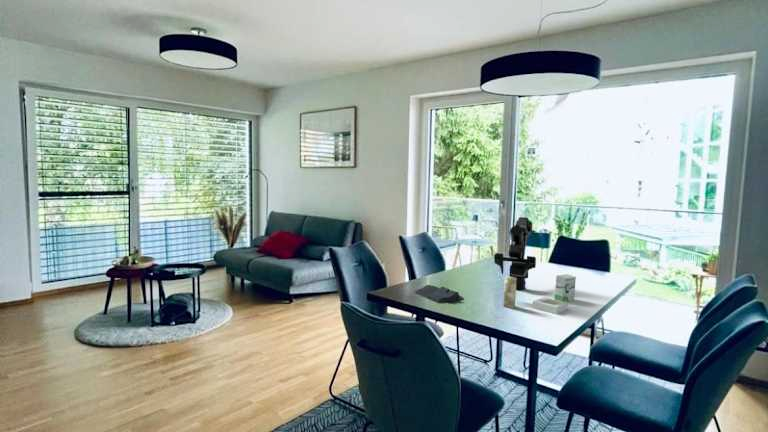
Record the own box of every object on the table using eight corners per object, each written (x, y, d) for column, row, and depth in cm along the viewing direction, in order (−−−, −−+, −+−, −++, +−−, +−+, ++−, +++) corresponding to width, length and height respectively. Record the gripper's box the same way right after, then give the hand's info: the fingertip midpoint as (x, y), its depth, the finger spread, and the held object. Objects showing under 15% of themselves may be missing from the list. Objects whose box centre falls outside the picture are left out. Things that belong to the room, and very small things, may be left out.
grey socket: (532, 307, 191) (532, 301, 191) (544, 303, 198) (544, 297, 198) (556, 314, 183) (556, 307, 182) (567, 309, 190) (568, 302, 190)
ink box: (562, 302, 201) (564, 277, 200) (553, 299, 205) (555, 275, 204) (574, 300, 205) (576, 276, 204) (565, 297, 209) (567, 273, 208)
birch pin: (501, 305, 192) (502, 277, 191) (507, 304, 195) (508, 276, 194) (510, 308, 188) (512, 279, 187) (517, 306, 192) (518, 278, 190)
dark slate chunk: (436, 289, 218) (436, 280, 217) (466, 301, 199) (466, 291, 199) (411, 293, 209) (412, 283, 209) (441, 305, 191) (441, 295, 191)
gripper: (495, 236, 204) (490, 263, 195) (537, 239, 197) (533, 267, 187) (497, 250, 212) (492, 276, 203) (537, 253, 205) (533, 281, 195)
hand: (512, 275), depth 197 cm, fingers open, 9 cm apart
